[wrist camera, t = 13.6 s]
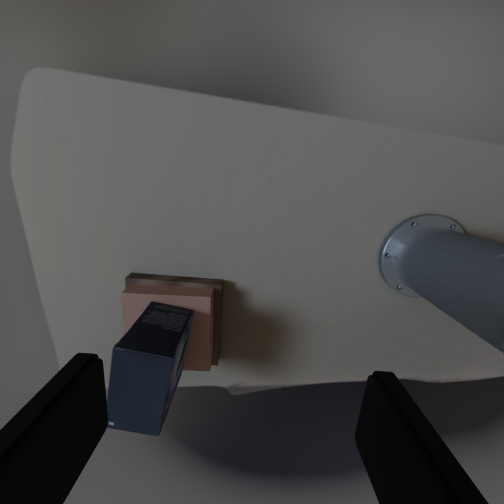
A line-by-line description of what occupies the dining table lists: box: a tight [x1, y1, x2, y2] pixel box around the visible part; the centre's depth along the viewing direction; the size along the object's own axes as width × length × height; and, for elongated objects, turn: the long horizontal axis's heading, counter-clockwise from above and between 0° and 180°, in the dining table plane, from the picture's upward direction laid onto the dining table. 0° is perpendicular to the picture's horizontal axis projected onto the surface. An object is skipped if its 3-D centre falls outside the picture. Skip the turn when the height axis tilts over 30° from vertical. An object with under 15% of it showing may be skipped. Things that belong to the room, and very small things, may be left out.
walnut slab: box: [125, 273, 223, 366], centre depth 42 cm, size 14×14×3 cm
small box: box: [107, 301, 194, 436], centre depth 32 cm, size 11×6×10 cm, turn 167°
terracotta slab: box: [122, 284, 214, 371], centre depth 39 cm, size 12×12×3 cm
